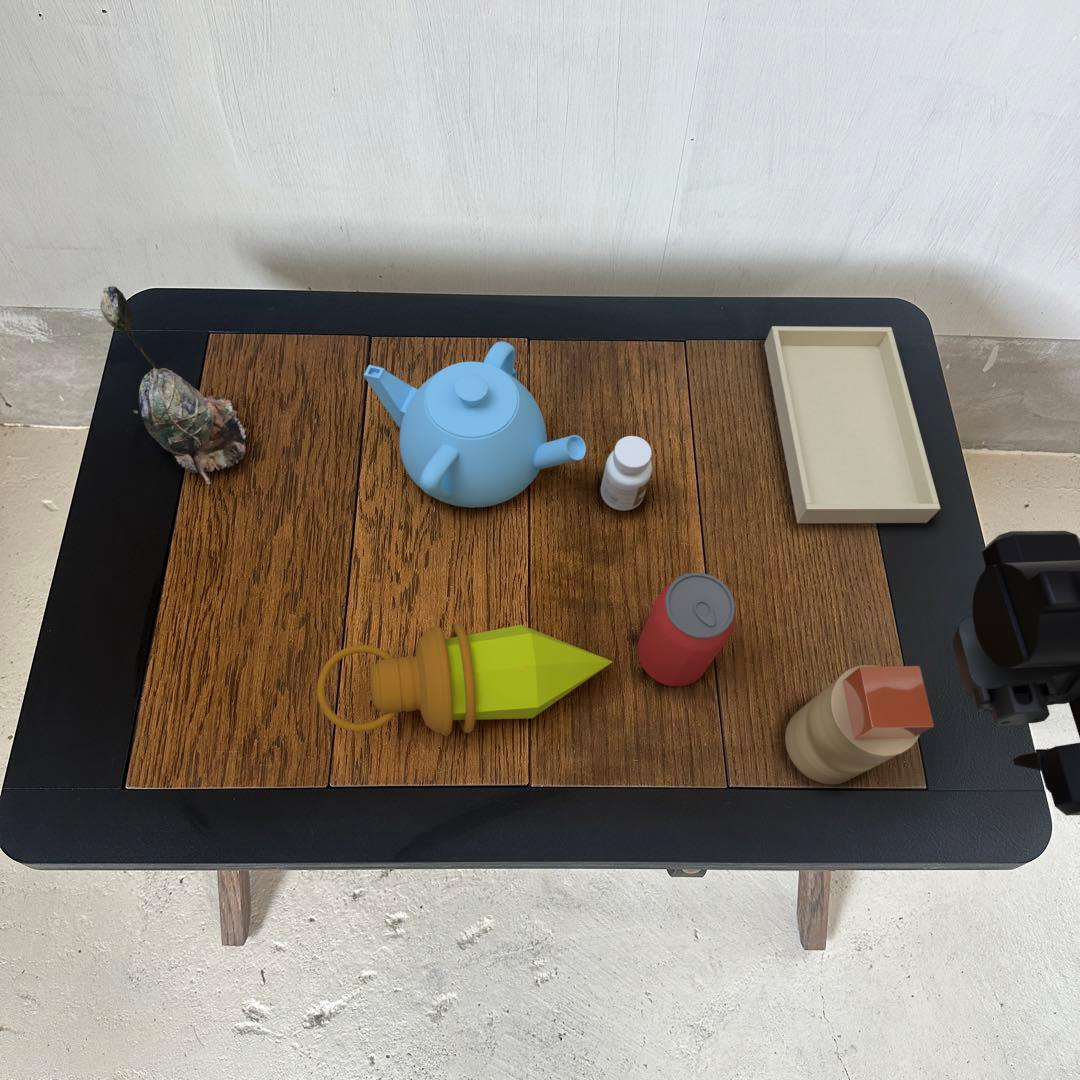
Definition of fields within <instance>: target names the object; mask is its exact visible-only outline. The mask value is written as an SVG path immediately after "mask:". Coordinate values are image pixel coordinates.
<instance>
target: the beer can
mask: <svg viewBox="0 0 1080 1080" xmlns="http://www.w3.org/2000/svg"><path fill="white" fill-rule="evenodd" d="M735 612H736V604H735V598H734V597H733V594H732V592H731V589H730V588H728V586H727V585H726V584H725V583H724V582H723V581H722V580H720V579H719V578H717V577H716V576H714V575H711V574H709V573H705V572H689V573H685V574H682V575H680V576H679V577H677V578H676V579H674V580H672V582H670V583H667V584H666V586H665V587H663V588H662V590H661V591H660V593H659V594H658V596H657V597H656V599H655V601H654V603H653V606H652V608H651V611H650V613H649V615H648V617H647V620H646V622H645V624H644V626H643V628H642V631H641V633H640V636H639V639H638V643H637V657H638V660H639V663H640V665H641V667H642V669H643V670H644V671H645V672H646V673H647V675H648V676H649V677H650V678H651V679H653V680H654V681H656V682H658V683H659V684H663V685H665V686H669V687H684V686H687V685H691V684H693V683H695V682H696V681H697V680H698V679H700V678H702V676H704V674H705V673H706V671H707V670H708V668H709V667H710V665H711V664H712V663H713V661H714V660H715V658H716V657H717V655H718V654H719V653H720V651H721V650H722V649H723V647H724V646H725V645H726V643H727V641H728V640H729V638H730V637H731V635H732V634H733V631H734V628H735V622H736V613H735Z"/></svg>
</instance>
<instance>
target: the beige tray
mask: <svg viewBox="0 0 1080 1080" xmlns="http://www.w3.org/2000/svg"><path fill="white" fill-rule="evenodd" d="M763 345H764V351H765V355H766V361H767V366H768V372H769V373H768V374H769V378H770V383H771V388H772V389H771V390H772V393H773V400H774V404H775V405H774V406H775V410H776V415H777V416H776V417H777V421H778V422H777V423H778V427H779V432H780V437H781V443H782V450H783V453H784V461H785V465H786V470H787V476H788V481H789V486H790V487H789V488H790V493H791V497H792V504H793V509H794V513H795V514H794V515H795V519H796V524H927V523H928V522H929V521H930V520H931V519H932V518H934V516H935V515H936V514H937V513H938V512H939V511H940V510H941V505H940V502H939V499H938V494H937V491H936V487H935V483H934V479H933V476H932V472H931V468H930V465H929V461H928V457H927V453H926V450H925V446H924V442H923V439H922V435H921V431H920V428H919V424H918V420H917V416H916V413H915V409H914V405H913V402H912V397H911V395H910V391H909V390H910V389H909V387H908V383H907V380H906V376H905V371H904V368H903V365H902V361H901V357H900V354H899V350H898V346H897V342H896V339H895V336H894V332H893V328H892V327H891V326H799V325H798V326H796V325H795V326H794V325H793V326H790V325H787V326H783V325H781V326H779V325H773V326H771V328H770V330H769V332H768V334H767V337H766V339H765V342H764V344H763Z"/></svg>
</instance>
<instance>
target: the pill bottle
mask: <svg viewBox="0 0 1080 1080" xmlns="http://www.w3.org/2000/svg"><path fill="white" fill-rule="evenodd" d="M651 458H652V448H651V446H650V444H649V443H648V441H646V440H645V439H643V438H642V437H639V436H636V435H628V436H627V435H626V436H623V437H622V438H620V439H619V440H617V442H616V444H615V446H614V449H613V450H612V452H610V453H609V455H608V457H607V459H606V462H605V466H604V471H603V476H602V479H601V484H600V496H601V497H602V501H604V503H605V504H606V505H607V506H609V507H610V508H612V509H613V510H616V511H621V512H623V511H624V512H625V511H631V510H633V509H636V508H637V507H638V506H640V504H641V503H642V502H643V501H644V498H645V495H646V492H647V489H648V486H649V482H650V479H651V476H652V472H653V463H652V460H651Z"/></svg>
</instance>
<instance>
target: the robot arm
mask: <svg viewBox="0 0 1080 1080" xmlns="http://www.w3.org/2000/svg"><path fill="white" fill-rule="evenodd" d="M981 556H982V559H983V562H984V565H985V567H984V570H983V572H982V573H981V574H980V576H979V577H978V579H977V581H976V584H975V588H974V591H973V594H972V605H971V606H972V608H971V610H972V615H968V616H965V617H964V618H962V619H961V620H960V622H959V623H958V626H957V629H956V631H955V634H954V637H953V640H952V647H953V651H954V652H953V653H954V654H955V657H956V662H957V665H958V668H959V673H960V676H961V683H962V687H963V691H964V692H965V694H966V695H967V696H968V697H969V698H970V699H973V700H974V703H975V706H976V711H977V712H978V713H979V712H980V713H985V712H986V713H990V714H991V716H992V719H993V724H994V725H995V726H999V727H1006V726H1014V725H1015V726H1016V725H1018V726H1019V725H1028V724H1037V723H1041V722H1045V721H1046V720H1047V719H1048V718H1049V716H1050V710H1049V707H1048V706H1053V705H1066V704H1068V705H1069V708H1070V711H1071V714H1072V718H1073V721H1074V725H1075V728H1076V731H1077V734H1078V738H1080V537H1079V536H1078V535H1077V534H1076V533H1073V532H1071V531H1067V530H1011V531H1008V532H1004V533H1001V534H998V535H997V536H996V537H995V538H993V540H991V541H990V542H989V543H988V544H986V546H985V547H984V548H983V550H982V551H981ZM1034 751H1035V752H1030V753H1026V754H1021V755H1018V756H1016V757H1014V758H1013V759H1012V761H1013V765H1014V766H1017V767H1021V768H1027V769H1031V770H1035V771H1039V772H1040V773H1041V775H1042V779H1043V783H1044V786H1045V788H1046V790H1047V791H1048V792H1049V793H1050V795H1051V798H1052V801H1053V805H1054V807H1055V808H1056V809H1057V810H1058V811H1060V812H1061V813H1062V814H1063V815H1065V816H1066V817H1067V816H1080V742H1075V743H1068V744H1062V745H1061V744H1060V745H1055V746H1053V747H1051V748H1039V749H1038V748H1037V749H1036V748H1035V750H1034Z"/></svg>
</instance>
